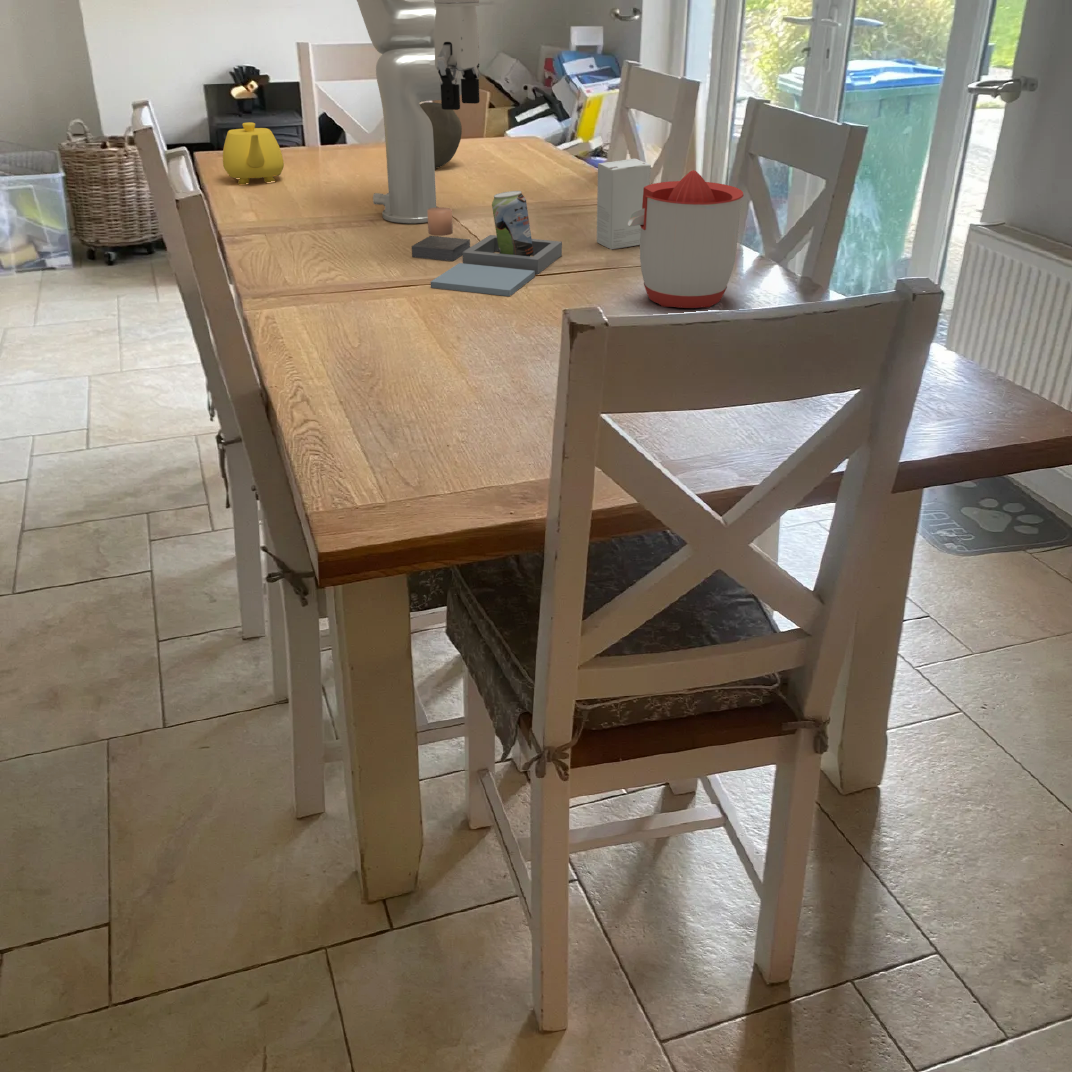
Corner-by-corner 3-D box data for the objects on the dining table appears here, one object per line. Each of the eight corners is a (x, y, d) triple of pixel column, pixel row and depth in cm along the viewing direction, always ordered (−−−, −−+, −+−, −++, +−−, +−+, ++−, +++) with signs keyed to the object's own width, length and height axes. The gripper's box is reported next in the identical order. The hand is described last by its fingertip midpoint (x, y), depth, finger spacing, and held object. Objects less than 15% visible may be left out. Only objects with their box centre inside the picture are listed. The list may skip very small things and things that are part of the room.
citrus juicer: (622, 284, 179) (628, 159, 169) (726, 285, 178) (738, 160, 168) (626, 313, 165) (632, 180, 155) (739, 315, 165) (752, 181, 155)
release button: (424, 234, 192) (423, 211, 190) (434, 228, 196) (433, 206, 194) (446, 236, 191) (445, 213, 189) (456, 230, 195) (455, 208, 193)
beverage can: (529, 266, 188) (529, 196, 182) (489, 264, 189) (487, 194, 183) (536, 257, 193) (537, 189, 187) (497, 255, 195) (496, 187, 189)
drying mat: (430, 287, 177) (430, 281, 176) (459, 268, 187) (459, 263, 186) (509, 296, 173) (509, 290, 172) (534, 276, 183) (534, 270, 182)
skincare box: (632, 238, 206) (636, 157, 198) (648, 245, 201) (653, 163, 193) (594, 243, 202) (596, 161, 195) (609, 250, 198) (612, 167, 190)
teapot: (280, 171, 261) (274, 116, 254) (291, 188, 244) (285, 129, 238) (222, 175, 257) (214, 118, 250) (230, 192, 240) (222, 132, 234)
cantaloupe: (460, 172, 260) (458, 106, 252) (402, 172, 260) (398, 106, 253) (464, 161, 272) (462, 98, 265) (409, 161, 272) (405, 98, 265)
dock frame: (462, 266, 188) (462, 252, 187) (490, 248, 199) (490, 234, 197) (537, 274, 184) (537, 259, 183) (561, 255, 195) (561, 241, 193)
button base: (412, 257, 193) (411, 246, 192) (430, 246, 200) (430, 235, 199) (452, 261, 191) (452, 250, 190) (470, 250, 197) (469, 239, 196)
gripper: (454, -5, 187) (458, 100, 195) (415, -2, 173) (422, 111, 181) (494, -5, 185) (497, 101, 193) (459, -2, 171) (463, 112, 179)
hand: (461, 106), depth 187 cm, fingers open, 9 cm apart
